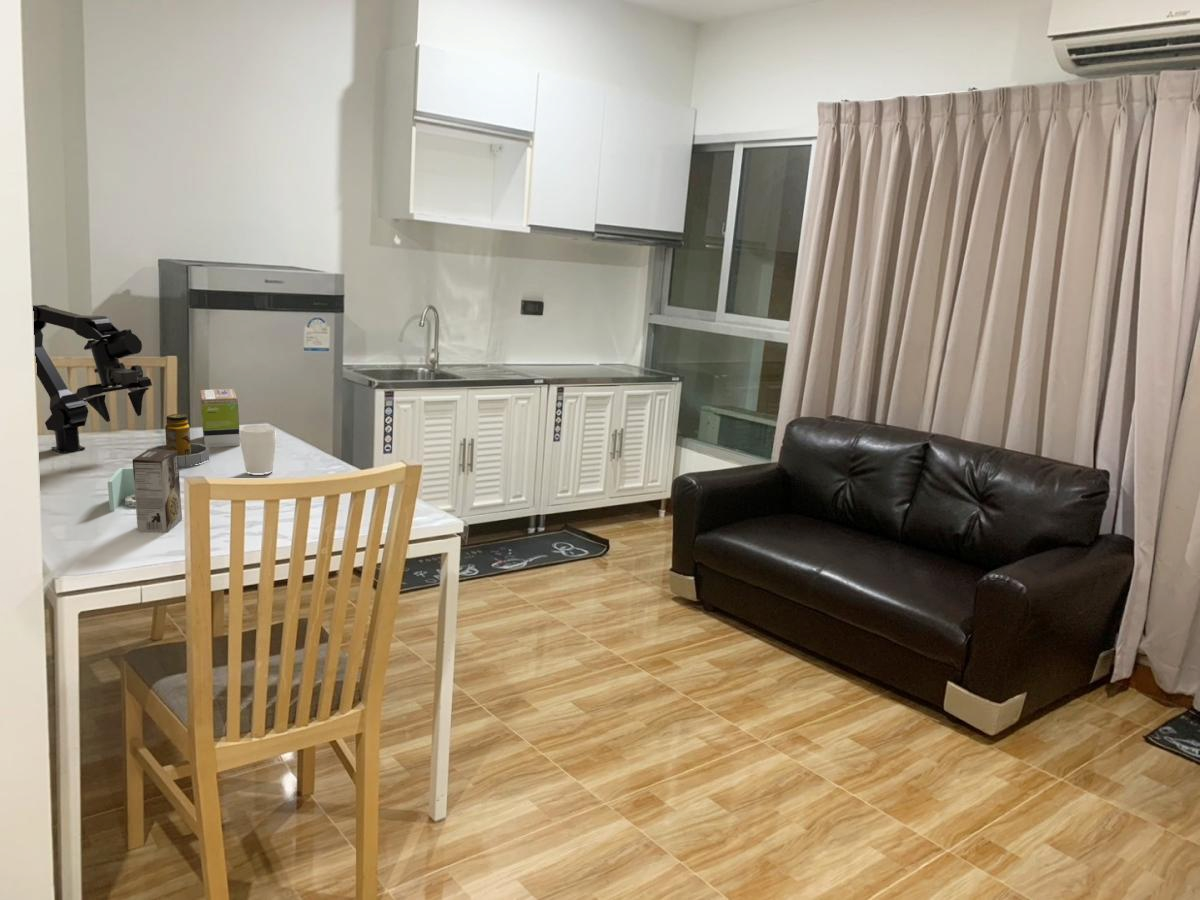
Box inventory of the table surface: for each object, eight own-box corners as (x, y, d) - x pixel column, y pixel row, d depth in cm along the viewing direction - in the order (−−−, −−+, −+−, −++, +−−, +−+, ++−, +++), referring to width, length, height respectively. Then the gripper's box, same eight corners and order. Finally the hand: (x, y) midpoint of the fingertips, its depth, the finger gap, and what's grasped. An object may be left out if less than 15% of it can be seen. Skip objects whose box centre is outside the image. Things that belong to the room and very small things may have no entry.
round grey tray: (136, 459, 250) (135, 449, 249) (191, 450, 262) (190, 440, 261) (165, 470, 241) (164, 459, 240) (220, 461, 253) (220, 450, 252)
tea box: (202, 436, 279) (199, 388, 275) (237, 435, 283) (235, 388, 280) (203, 448, 266) (201, 398, 262) (240, 446, 270) (238, 397, 266)
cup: (284, 471, 246) (283, 427, 243) (262, 478, 238) (260, 434, 235) (257, 466, 249) (255, 423, 246) (233, 474, 241) (231, 429, 238)
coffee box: (153, 519, 203) (148, 448, 199) (183, 519, 204) (178, 449, 200) (136, 532, 194) (130, 458, 191) (167, 533, 195) (162, 459, 191)
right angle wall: (110, 513, 207) (107, 481, 205) (121, 498, 218) (119, 467, 216) (167, 511, 210) (165, 480, 208) (176, 496, 221) (174, 466, 220)
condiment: (198, 458, 252) (195, 415, 249) (170, 464, 245) (167, 420, 242) (181, 453, 256) (179, 411, 253) (153, 459, 249) (150, 416, 246)
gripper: (92, 360, 234) (109, 419, 236) (156, 352, 250) (172, 407, 252) (67, 369, 240) (85, 426, 241) (131, 360, 256) (147, 414, 258)
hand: (124, 418), depth 248 cm, fingers open, 9 cm apart
